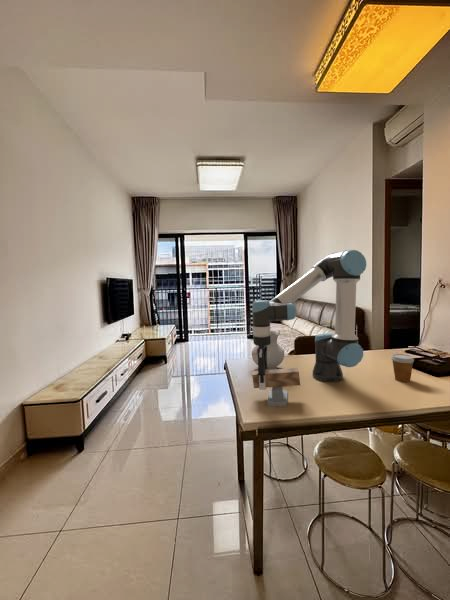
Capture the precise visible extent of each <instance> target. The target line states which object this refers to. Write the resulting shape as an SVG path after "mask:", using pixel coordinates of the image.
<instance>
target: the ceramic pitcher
mask: <svg viewBox="0 0 450 600" xmlns="http://www.w3.org/2000/svg"><path fill="white" fill-rule="evenodd" d="M253 331H254V330H252V332H253ZM270 332H271V334H270V337H271V343H270V345H266V346H267V367H268V369H266V370H276V369H277V368H278V366H279V365H281V364H282V363H283V362H284V359H285V350H284V349H283V347H281V346H280V345H279V344H278V337H279V336H280V335H281V330H280V329H278V331H276V330H270ZM254 336H255V335H254V334H253V333H252V337H254ZM258 348H259V346H258V345H255V346H254V347H253V348H252V350H251V357H252V361H253V362H254V363H255V365H257V366H258V354H257V349H258Z"/></svg>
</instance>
